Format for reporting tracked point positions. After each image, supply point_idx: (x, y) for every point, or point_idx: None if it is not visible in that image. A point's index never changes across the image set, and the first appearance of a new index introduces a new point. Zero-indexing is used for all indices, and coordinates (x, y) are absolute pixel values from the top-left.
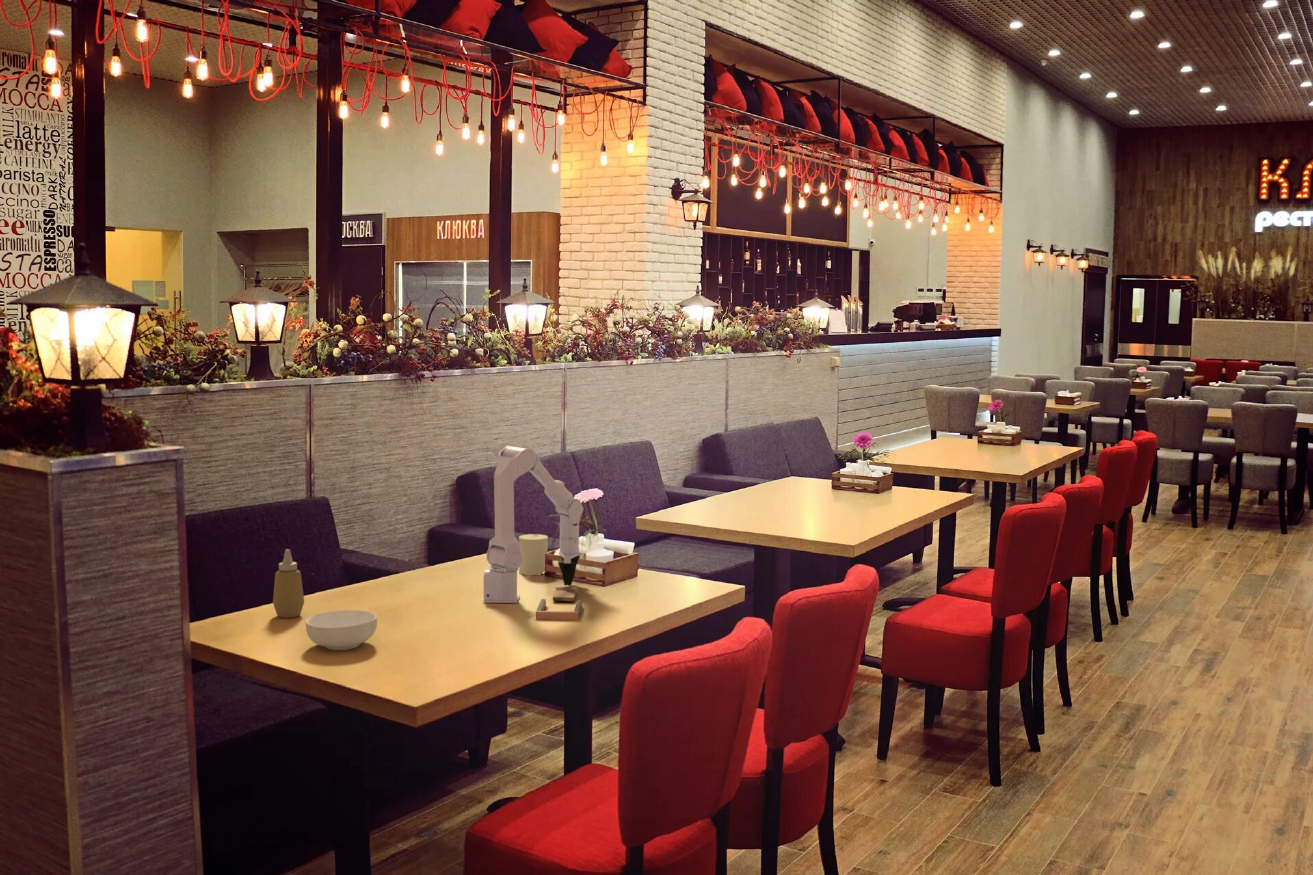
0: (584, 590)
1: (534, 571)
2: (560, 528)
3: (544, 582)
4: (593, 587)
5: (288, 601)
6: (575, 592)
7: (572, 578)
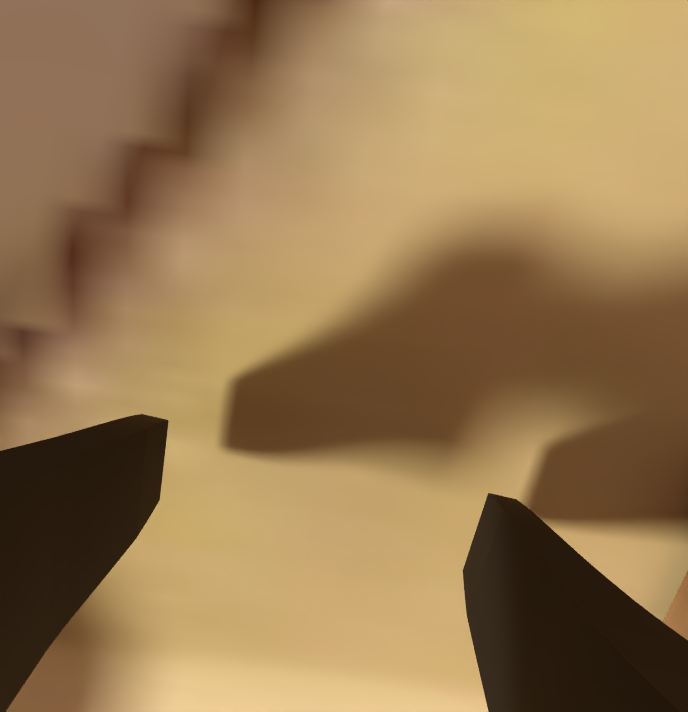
0: (528, 301)
1: None
2: None
3: (89, 652)
4: (376, 150)
5: None
6: None
7: (573, 551)
